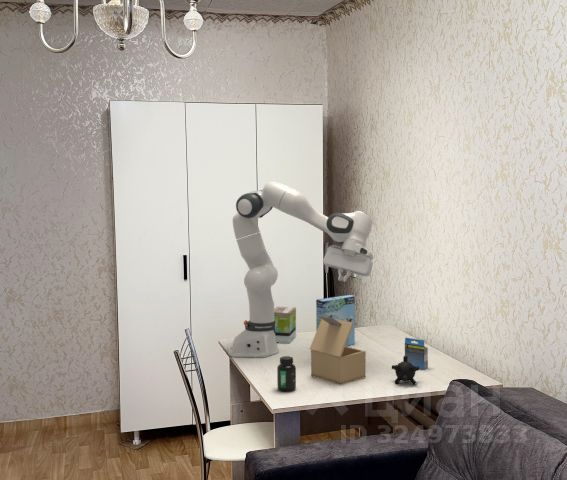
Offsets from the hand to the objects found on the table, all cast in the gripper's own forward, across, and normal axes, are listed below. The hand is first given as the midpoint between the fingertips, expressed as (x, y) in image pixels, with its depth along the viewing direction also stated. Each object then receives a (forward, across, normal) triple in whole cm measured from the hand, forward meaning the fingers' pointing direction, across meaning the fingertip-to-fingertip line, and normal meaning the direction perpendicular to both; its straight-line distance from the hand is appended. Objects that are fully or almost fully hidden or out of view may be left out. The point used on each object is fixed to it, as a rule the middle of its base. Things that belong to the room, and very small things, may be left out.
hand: (341, 280), depth 288 cm
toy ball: (+31, +36, +5) cm, 48 cm away
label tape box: (+21, +34, +25) cm, 47 cm away
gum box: (+22, -8, +44) cm, 50 cm away
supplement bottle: (+48, 0, -16) cm, 51 cm away
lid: (+23, +6, -6) cm, 25 cm away
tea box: (+25, -36, +49) cm, 66 cm away
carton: (+36, +10, +4) cm, 38 cm away
